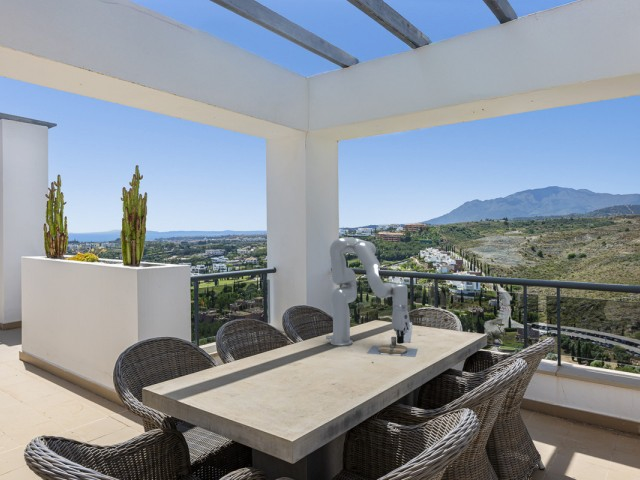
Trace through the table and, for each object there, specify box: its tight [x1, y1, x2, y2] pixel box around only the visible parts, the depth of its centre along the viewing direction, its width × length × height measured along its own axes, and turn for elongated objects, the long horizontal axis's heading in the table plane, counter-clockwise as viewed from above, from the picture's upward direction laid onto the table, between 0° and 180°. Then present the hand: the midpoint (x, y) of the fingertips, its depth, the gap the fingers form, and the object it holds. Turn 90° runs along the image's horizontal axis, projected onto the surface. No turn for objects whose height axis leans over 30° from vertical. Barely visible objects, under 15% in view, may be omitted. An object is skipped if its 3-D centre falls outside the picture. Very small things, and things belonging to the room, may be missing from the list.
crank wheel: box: [378, 336, 408, 354], centre depth 219 cm, size 15×14×6 cm
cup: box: [404, 321, 413, 343], centre depth 243 cm, size 9×9×12 cm
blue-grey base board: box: [366, 345, 419, 358], centre depth 220 cm, size 24×17×2 cm
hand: (400, 343), depth 223 cm, fingers closed
